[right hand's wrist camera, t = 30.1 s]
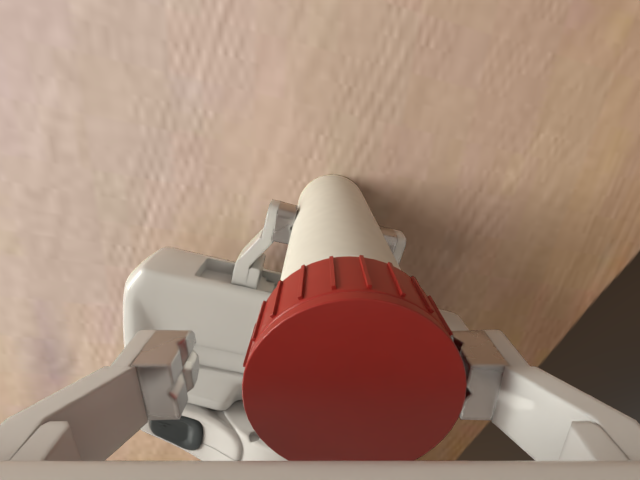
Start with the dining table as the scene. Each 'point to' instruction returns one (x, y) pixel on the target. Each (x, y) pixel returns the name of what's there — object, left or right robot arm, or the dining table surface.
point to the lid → (352, 365)
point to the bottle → (334, 226)
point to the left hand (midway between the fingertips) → (337, 217)
